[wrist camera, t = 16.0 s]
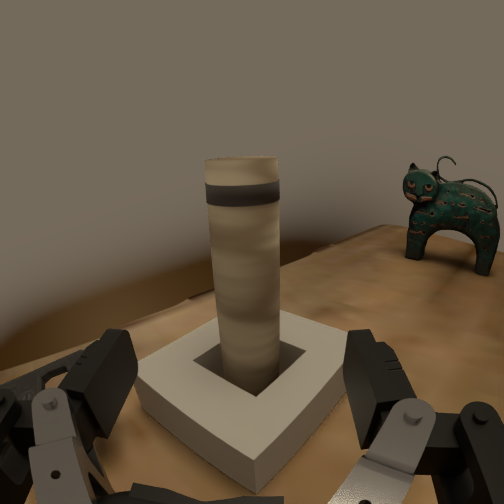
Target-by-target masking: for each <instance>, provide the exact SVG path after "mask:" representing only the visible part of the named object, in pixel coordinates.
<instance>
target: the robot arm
mask: <svg viewBox="0 0 504 504" xmlns="http://www.w3.org/2000/svg"><path fill="white" fill-rule="evenodd" d="M137 375H138V361H137V358H136V355H135V351H134V348H133V345H132V341H131V338H130V334H129V332H128V331H127V330H120V329H107V330H106V331H105V333H104V334H103V336H102V337H101V338H100V340H96V341H95V342H93V343H92V344H90V345H89V346H88V347H86V349H85V350H84V351H83V353H82V354H81V355H80V358H78V360H77V361H76V362H75V365H73V366H72V368H71V369H70V371H69V372H68V373H67V375H66V376H65V378H64V379H63V380H62V382H61V383H60V385H59V386H58V387H57V388H48V389H45V390H42V391H41V392H39V393H38V394H37V395H36V396H35V397H34V399H33V400H18V399H17V398H16V396H15V394H14V393H13V391H11V390H10V389H6V388H3V389H0V446H1V445H2V443H3V441H4V439H5V438H6V437H7V439H8V440H9V441H10V443H11V444H12V445H11V447H10V449H9V451H8V452H7V454H6V456H5V458H4V460H3V462H2V464H1V465H0V504H24V503H25V501H26V499H27V496H28V494H29V492H30V489H31V487H32V485H33V484H34V489H35V494H36V499H37V503H38V504H284V496H274V497H254V496H243V497H237V498H231V499H224V500H216V501H208V502H204V501H199V500H196V499H193V498H190V497H187V496H184V495H182V494H179V493H176V492H174V491H171V490H169V489H165V488H159V487H153V486H148V485H143V484H138V483H133V484H132V487H131V490H130V491H125V492H117V493H115V491H114V490H113V488H112V486H111V484H110V482H109V480H108V478H107V475H106V472H105V470H104V467H103V465H102V462H101V459H100V456H99V454H98V451H97V448H96V445H95V444H94V442H93V441H94V439H95V437H96V436H98V437H102V438H106V439H108V437H109V435H110V433H111V430H112V428H113V426H114V424H115V422H116V420H117V417H118V415H119V413H120V411H121V409H122V407H123V405H124V403H125V400H126V398H127V396H128V394H129V392H130V390H131V388H132V386H133V384H134V382H135V380H136V378H137ZM343 379H344V384H345V387H346V391H347V395H348V399H349V403H350V407H351V411H352V415H353V419H354V423H355V427H356V431H357V435H358V440H359V444H360V448H361V450H363V449H368V451H367V452H366V454H365V455H363V456H362V457H361V458H360V459H359V461H358V462H357V463H356V465H355V466H354V468H353V469H352V471H351V472H350V474H349V475H348V477H347V478H346V480H345V481H344V482H343V484H342V485H341V486H340V488H339V489H338V491H337V492H336V493H335V495H334V496H333V497H332V499H331V500H330V501H329V502H328V504H401V503H402V501H403V499H404V497H405V495H406V493H407V491H408V489H409V487H410V485H411V483H412V481H413V479H414V476H415V475H431V477H432V481H433V485H434V489H435V493H436V497H437V501H438V504H504V424H503V423H502V421H501V419H500V417H499V415H498V413H497V412H496V410H495V409H494V408H493V407H492V406H491V405H489V404H487V403H484V402H471V403H469V404H467V405H466V406H464V408H463V409H462V411H461V413H460V414H452V413H437V412H435V411H434V409H433V408H432V406H431V405H430V404H428V403H427V402H425V401H423V400H420V399H417V397H416V395H415V393H414V391H413V389H412V386H411V384H410V382H409V380H408V378H407V376H406V374H405V372H404V370H402V366H401V364H400V362H398V358H397V356H396V354H395V352H394V350H393V349H392V348H391V347H389V346H388V345H387V344H386V343H385V342H376V341H375V339H374V337H373V335H372V332H371V331H370V329H364V330H350V331H348V334H347V340H346V347H345V354H344V361H343Z"/></svg>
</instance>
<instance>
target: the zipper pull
mask: <svg viewBox="0 0 504 504" xmlns="http://www.w3.org/2000/svg"><path fill="white" fill-rule="evenodd" d="M83 351H84V350H79V351H77V352H74V353H72V354H70V355H68V356H65V357H63V358H61V359H58V360H56V361H54V362H52V363H49V364H47V365H45V366H43V367H41V368H39V369H36V370H34V371H32V372H29V373H27V374H25V375H23V376H20V377H18V378H16V379H13V380H11V381H9V382H6V383H4V384H2V385H0V389H3V388H6V389H10V390H11V391H13V393H14V394H15V396H16V398H17V399H18V400H33V399H34V397H35V396H36V395H37V394H38V393H39V392H41V391H42V390H45V383H46V382H47V381H49V380H50V379H51V378H52V377H55V376H57V375H60V374H63V373H65V372H69V371H70V369H71V368H72V366H73V365H75V362H76V361H77V360H78V358H80V355H81V354H82V353H83ZM11 445H12V444H11V443H10V441H9V440H8V439H7V437H6V438H5V439H4V441H3V443H2V445H1V446H0V465H1V464H2V462H3V460H4V458H5V456H6V454H7V452H8V451H9V449H10V447H11Z"/></svg>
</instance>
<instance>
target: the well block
mask: <svg viewBox="0 0 504 504" xmlns="http://www.w3.org/2000/svg"><path fill="white" fill-rule="evenodd" d="M347 334H348V332H346V331H342V330H339V329H336V328H333V327H330V326H327V325H324V324H321V323H318V322H315V321H312V320H309V319H306V318H303V317H300V316H297V315H294V314H291V313H288V312H286V311H283V310H280V346H279V377H278V378H277V379H276V380H275V381H274V382H273V383H272V384H270V385H269V386H268V387H267V388H266V389H265V390H264V391H263V392H261V393H260V394H259V395H258V396H257V397H255V396H253V395H251V394H250V393H248V392H246V391H244V390H242V389H240V388H239V387H237V386H235V385H233V384H231V383H230V382H228V381H226V380H225V378H224V370H223V362H222V353H221V344H220V335H219V326H218V317H216V318H214V319H212V320H210V321H209V322H207V323H205V324H204V325H202V326H200V327H198V328H197V329H195V330H193V331H191V332H190V333H188V334H186V335H184V336H183V337H181V338H179V339H177V340H175V341H174V342H172V343H170V344H168V345H167V346H165V347H163V348H161V349H159V350H158V351H156V352H154V353H152V354H150V355H149V356H147V357H145V358H143V359H141V360H139V361H138V375H137V378H136V380H135V382H134V387H135V389H136V392H137V395H138V398H139V400H140V403H141V406H142V408H143V409H144V410H145V411H146V412H147V413H148V414H150V415H151V416H152V417H153V418H154V419H155V420H156V421H157V422H159V423H160V424H161V425H162V426H163V427H164V428H166V429H167V430H168V431H169V432H170V433H172V434H173V435H174V436H175V437H176V438H178V439H179V440H180V441H181V442H183V443H184V444H185V445H186V446H188V447H189V448H190V449H191V450H193V451H194V452H195V453H197V454H198V455H199V456H201V457H202V458H203V459H205V460H206V461H207V462H209V463H210V464H211V465H213V466H214V467H216V468H217V469H218V470H220V471H221V472H223V473H224V474H226V475H227V476H229V477H230V478H232V479H233V480H235V481H236V482H238V483H239V484H241V485H242V486H244V487H245V488H247V489H248V490H250V491H252V492H253V493H255V494H257V493H258V492H259V491H260V490H261V489H262V488H263V487H264V486H265V485H266V484H267V483H268V482H269V481H270V480H271V479H272V478H273V477H274V476H275V475H276V474H277V473H278V472H279V471H280V470H281V469H282V468H283V466H284V465H285V464H286V463H287V462H288V461H289V460H290V459H291V458H292V457H293V456H294V454H295V453H296V452H297V451H298V450H299V449H300V448H301V447H302V445H303V444H304V443H305V442H306V441H307V440H308V438H309V437H310V436H311V435H312V434H313V433H314V431H315V430H316V429H317V428H318V427H319V425H320V424H321V423H322V422H323V420H324V419H325V418H326V417H327V415H328V414H329V413H330V412H331V410H332V409H333V408H334V406H335V405H336V404H337V403H338V401H339V400H340V399H341V397H342V396H343V395H344V393H345V392H346V387H345V384H344V379H343V361H344V354H345V347H346V340H347Z"/></svg>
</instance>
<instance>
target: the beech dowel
mask: <svg viewBox="0 0 504 504" xmlns="http://www.w3.org/2000/svg"><path fill="white" fill-rule="evenodd" d="M205 172H206V183H205V185H206V200H207V203H208V217H209V230H210V242H211V253H212V265H213V276H214V287H215V297H216V307H217V317H218V326H219V335H220V344H221V353H222V362H223V370H224V378H225V380H226V381H228V382H230V383H231V384H233V385H235V386H237V387H239V388H240V389H242V390H244V391H246V392H248V393H250V394H251V395H253V396H255V397H257V396H258V395H259V394H260V393H261V392H263V391H264V390H265V389H266V388H267V387H268V386H269V385H270V384H272V383H273V382H274V381H275V380H276V379H277V378H278V377H279V346H280V250H279V249H280V248H279V244H280V243H279V199H280V195H279V194H280V192H279V179H278V157H272V156H247V157H246V156H245V157H228V158H217V159H209V160H205Z"/></svg>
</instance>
